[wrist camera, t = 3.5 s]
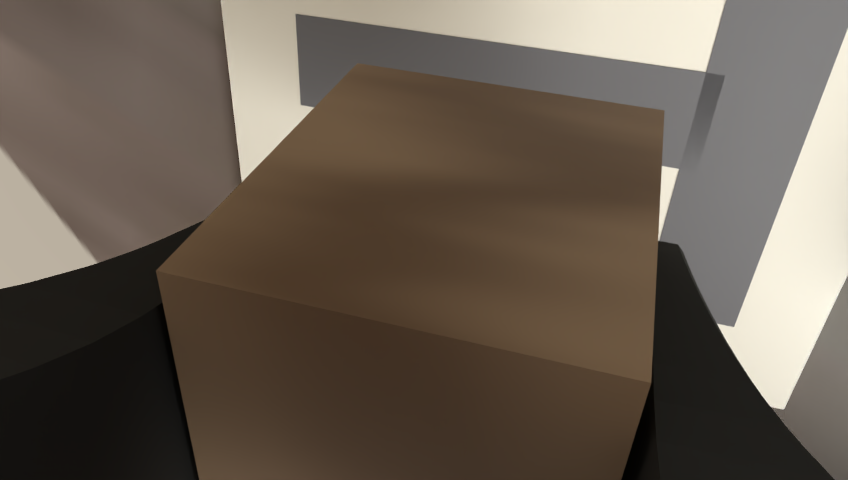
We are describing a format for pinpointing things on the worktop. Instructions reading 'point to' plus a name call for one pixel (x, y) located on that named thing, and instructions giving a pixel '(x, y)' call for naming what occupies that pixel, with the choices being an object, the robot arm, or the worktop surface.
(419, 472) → the walnut block
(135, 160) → the worktop surface
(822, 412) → the worktop surface
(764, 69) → the letter board
